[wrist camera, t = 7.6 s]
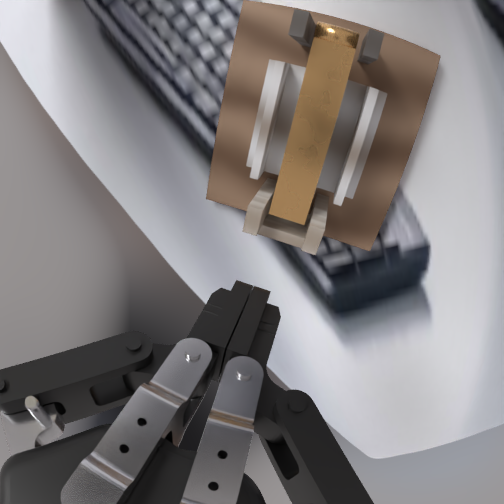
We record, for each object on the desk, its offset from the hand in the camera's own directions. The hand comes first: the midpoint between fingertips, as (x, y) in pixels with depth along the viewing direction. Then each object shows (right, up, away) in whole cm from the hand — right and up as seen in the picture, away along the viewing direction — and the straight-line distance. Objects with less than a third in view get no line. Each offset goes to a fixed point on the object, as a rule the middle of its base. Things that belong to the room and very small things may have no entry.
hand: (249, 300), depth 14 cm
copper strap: (+5, +12, +9) cm, 15 cm away
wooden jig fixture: (+6, +14, +14) cm, 21 cm away
